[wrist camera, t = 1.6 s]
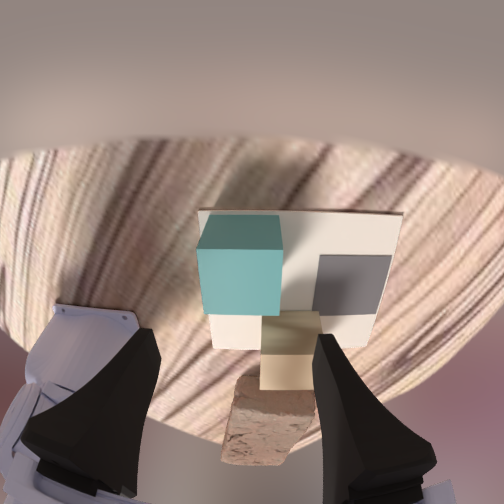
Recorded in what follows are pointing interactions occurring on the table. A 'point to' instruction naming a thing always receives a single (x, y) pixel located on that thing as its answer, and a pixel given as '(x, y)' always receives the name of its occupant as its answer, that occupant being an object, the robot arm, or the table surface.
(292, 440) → the brick
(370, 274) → the plate
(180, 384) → the table surface
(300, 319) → the beech block
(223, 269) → the teal block
